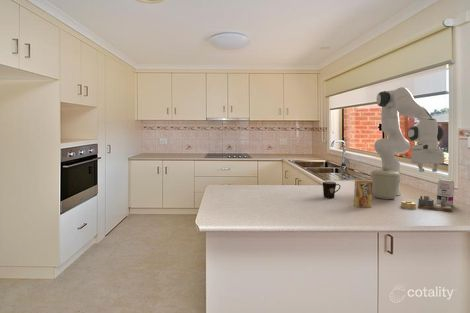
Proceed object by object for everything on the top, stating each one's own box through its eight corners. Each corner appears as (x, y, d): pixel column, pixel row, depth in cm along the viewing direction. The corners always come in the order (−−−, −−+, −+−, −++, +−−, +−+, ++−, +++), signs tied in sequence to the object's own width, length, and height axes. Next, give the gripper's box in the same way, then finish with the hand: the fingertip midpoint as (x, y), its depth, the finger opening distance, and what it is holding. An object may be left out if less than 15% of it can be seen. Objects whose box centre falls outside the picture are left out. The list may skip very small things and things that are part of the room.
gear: (418, 204, 175) (419, 196, 175) (418, 202, 181) (418, 194, 181) (433, 206, 171) (434, 198, 171) (433, 203, 178) (433, 196, 177)
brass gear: (400, 207, 174) (401, 202, 173) (401, 205, 180) (401, 200, 180) (415, 209, 170) (415, 204, 170) (415, 207, 176) (415, 201, 176)
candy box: (368, 205, 178) (370, 180, 177) (371, 207, 174) (372, 181, 173) (353, 205, 179) (354, 179, 177) (355, 207, 174) (357, 180, 173)
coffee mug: (322, 198, 196) (322, 183, 195) (321, 195, 204) (322, 181, 204) (341, 199, 193) (341, 184, 192) (339, 196, 202) (340, 181, 201)
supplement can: (449, 203, 186) (451, 179, 185) (455, 206, 178) (457, 181, 177) (434, 202, 189) (436, 178, 187) (439, 205, 181) (441, 180, 179)
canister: (392, 195, 208) (394, 164, 206) (404, 201, 190) (406, 168, 188) (365, 194, 210) (367, 164, 208) (375, 200, 192) (376, 167, 190)
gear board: (418, 207, 174) (418, 196, 174) (418, 204, 183) (418, 193, 182) (452, 212, 166) (453, 200, 165) (450, 208, 175) (451, 197, 174)
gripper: (436, 147, 173) (436, 171, 173) (409, 146, 166) (409, 171, 166) (447, 146, 167) (447, 172, 167) (419, 146, 160) (419, 172, 160)
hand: (428, 171), depth 166 cm, fingers open, 8 cm apart
